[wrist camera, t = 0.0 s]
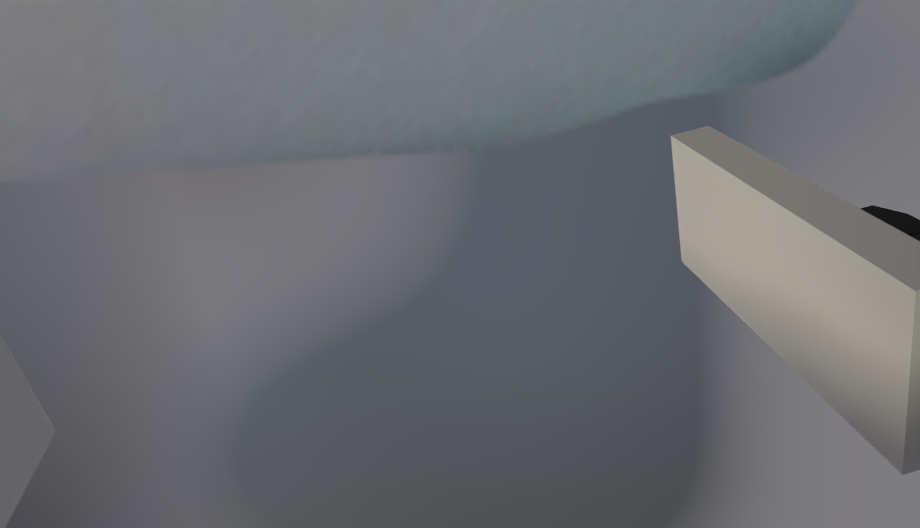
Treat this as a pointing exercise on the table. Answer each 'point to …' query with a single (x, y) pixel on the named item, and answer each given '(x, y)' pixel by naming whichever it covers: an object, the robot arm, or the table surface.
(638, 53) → the table surface
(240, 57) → the table surface
